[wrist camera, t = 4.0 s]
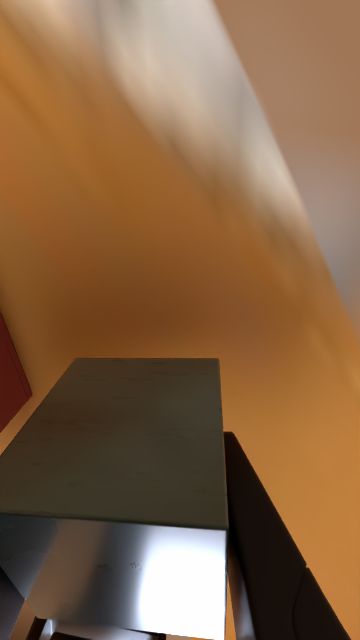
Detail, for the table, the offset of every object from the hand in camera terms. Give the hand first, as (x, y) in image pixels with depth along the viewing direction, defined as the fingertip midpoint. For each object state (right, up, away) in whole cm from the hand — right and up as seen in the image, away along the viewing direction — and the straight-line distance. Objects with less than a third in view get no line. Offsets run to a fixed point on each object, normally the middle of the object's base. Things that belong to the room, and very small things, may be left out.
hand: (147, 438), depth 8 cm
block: (0, +1, +1) cm, 1 cm away
